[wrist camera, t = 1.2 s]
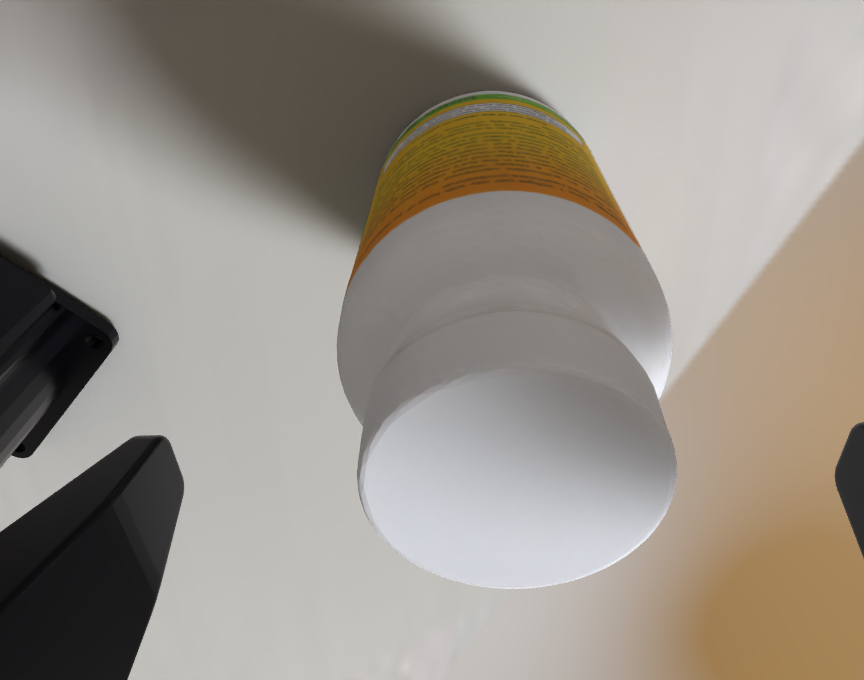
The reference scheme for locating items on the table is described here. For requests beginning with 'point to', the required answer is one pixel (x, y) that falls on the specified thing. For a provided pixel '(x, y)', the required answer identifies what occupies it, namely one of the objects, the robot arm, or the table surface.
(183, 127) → the table surface
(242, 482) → the table surface
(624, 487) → the supplement bottle
